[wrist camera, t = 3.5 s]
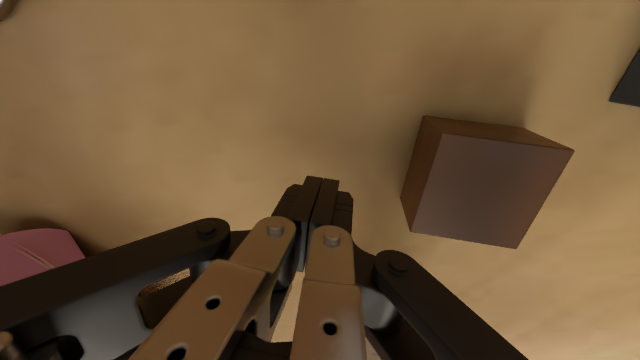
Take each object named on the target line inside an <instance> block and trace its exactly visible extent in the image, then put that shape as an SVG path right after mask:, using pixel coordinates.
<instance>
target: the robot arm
mask: <svg viewBox="0 0 640 360" xmlns="http://www.w3.org/2000/svg"><path fill="white" fill-rule="evenodd" d="M16 1H17V0H0V21H1V20H3V19H4V18H6V17H7V16H8V15H9V14H10V13H11V11H12V10H13V8H14V6H15V4H16ZM338 186H339V180H333V179H326V178H324V179H323V178H320V177H313V176H307V177H306V179H305V181H304V183H303V185H298V184H293V185H292V186H290V187H288V188H287V189H286V191H285V192H284V194H283V196H282V198H281V199H280V201H279V203H278V205H277V206H276V208H275V210H274V211H273V213H272V215H271V217H266V218H264V219H262V220H260V221H259V222H258V223H257V224H256V225H255V226H254V228H253V229H252V230H246V231H230V226H229V224H228V223H227V222H226V221H225V220H222V219H219V218H205V219H201V220H197V221H194V222H191V223H188V224H185V225H182V226H179V227H176V228H173V229H170V230H167V231H164V232H161V233H158V234H155V235H152V236H149V237H146V238H143V239H140V240H137V241H134V242H131V243H128V244H125V245H122V246H119V247H116V248H113V249H110V250H107V251H104V252H101V253H98V254H95V255H92V256H89V257H86V258H83V259H80V260H78V261H75V262H72V263H69V264H66V265H63V266H60V267H57V268H54V269H51V270H48V271H45V272H42V273H39V274H36V275H33V276H30V277H27V278H24V279H21V280H18V281H15V282H12V283H9V284H6V285H3V286H0V360H367V351H366V339H365V337H366V338H367V340H368V341H369V343H370V344H371V346H372V347H373V349H374V350H375V351H376V353H377V354H378V356H379V357H380V359H381V360H528V359H527V358H526V357H525V356H524V355H523V354H521V353H520V352H519V351H518V350H517V349H516V348H515V347H513V346H512V345H511V344H510V343H509V342H508V341H507V340H505V339H504V338H503V337H502V336H501V335H500V334H499V333H497V332H496V331H495V330H494V329H493V328H492V327H491V326H489V325H488V324H487V323H486V322H485V321H484V320H483V319H481V318H480V317H479V316H478V315H477V314H476V313H475V312H473V311H472V310H471V309H470V308H469V307H468V306H466V305H465V304H464V303H463V302H462V301H461V300H460V299H458V298H457V297H456V296H455V295H454V294H453V293H452V292H450V291H449V290H448V289H447V288H446V287H445V286H444V285H442V284H441V283H440V282H439V281H438V280H437V279H436V278H434V277H433V276H432V275H431V274H430V273H429V272H428V271H426V270H425V269H424V268H423V267H422V266H421V265H420V264H418V263H417V262H416V261H415V260H414V259H412V258H411V257H410V256H408V255H406V254H404V253H402V252H399V251H395V250H385V251H382V252H379V253H378V254H377V255H376V256H374V255H372V254H369V253H367V252H365V251H363V250H362V249H360V248H359V247H358V246H357V245H356V244H355V243H354V242H353V239H352V237H351V231H352V214H353V198H352V196H351V195H350V193H348V192H342V191H338ZM305 263H306V264H305ZM304 266H305V278H304V279H303V283H302V289H301V295H300V301H299V307H298V313H297V319H296V324H295V330H294V336H293V342H275V343H271V339H272V336H273V333H274V331H275V328H276V326H277V323H278V321H279V318H280V316H281V313H282V311H283V308H284V306H285V303H286V301H287V298H288V296H289V293H290V291H291V288H292V281H293V279H294V276H295V273H296V271H299V272H303V270H304ZM187 268H189V271H190V276H189V277H187V278H184V279H182V280H180V281H178V282H176V283H174V284H172V285H169V286H167V287H165V288H163V289H161V290H159V291H156V292H154V293H152V294H150V295H148V296H144V297H138V294H139V293H140V292H141V291H142V290H143V289H144V288H145V287H147V286H149V285H151V284H153V283H156V282H158V281H160V280H162V279H165V278H167V277H169V276H171V275H174V274H176V273H178V272H181V271H183V270H185V269H187Z"/></svg>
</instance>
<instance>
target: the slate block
mask: <svg viewBox="0 0 640 360" xmlns="http://www.w3.org/2000/svg"><path fill="white" fill-rule="evenodd" d="M609 101H610V102H615V103H620V104H626V105H632V106H637V107H640V50H639V52H638V54H637V55H636V57H635V59H634V60H633V62H632V63H631V65H630V67H629V68H628V70H627V72H626V73H625V75H624V77H623V78H622V80H621V82H620V83H619V85H618V87H617V88H616V90H615V92H614V93H613V95H612V97H611V98H610V100H609Z"/></svg>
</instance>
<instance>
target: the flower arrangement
mask: <svg viewBox="0 0 640 360" xmlns="http://www.w3.org/2000/svg"><path fill="white" fill-rule="evenodd" d="M83 258H85V256H84V255H83V253H82V252H81V250H80V248H79V247H78V245H77V244H76V242H75V241H74V239H73V238H72V236H71V235H70V233H69V231H66V230H62V229H53V228H42V229H31V230H23V231H18V232H13V233H8V234H4V235H1V236H0V286H3V285H6V284H9V283H12V282H15V281H18V280H21V279H24V278H27V277H30V276H33V275H36V274H39V273H42V272H45V271H48V270H51V269H54V268H57V267H60V266H63V265H66V264H69V263H72V262H75V261H78V260H80V259H83Z"/></svg>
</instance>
